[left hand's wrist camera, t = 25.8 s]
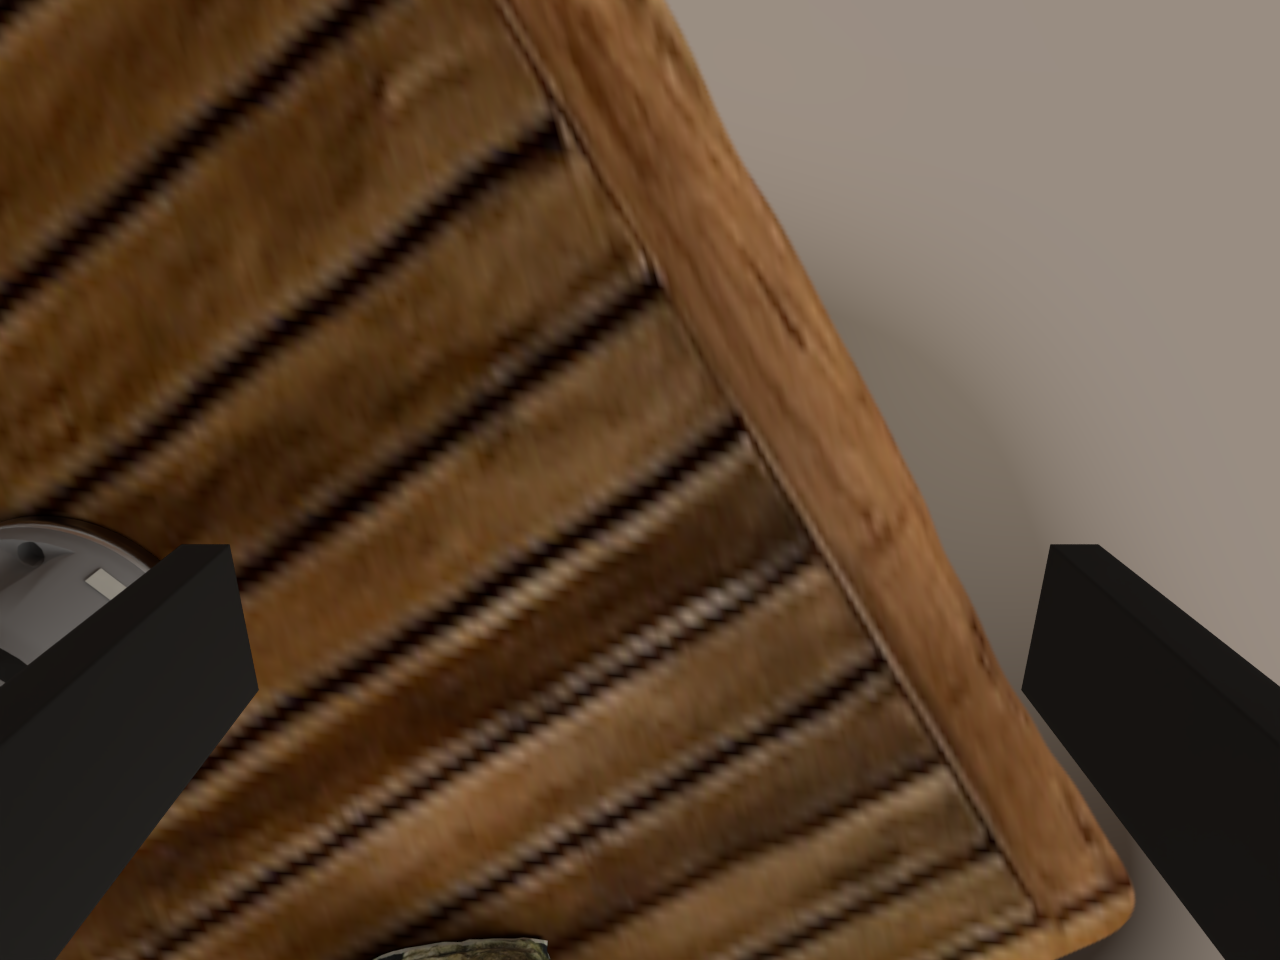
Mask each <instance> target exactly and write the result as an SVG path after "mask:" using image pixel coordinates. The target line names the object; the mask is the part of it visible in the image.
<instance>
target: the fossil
mask: <svg viewBox="0 0 1280 960" xmlns="http://www.w3.org/2000/svg"><path fill="white" fill-rule="evenodd" d="M374 960H550V957H549V955H548V952H547V941H546V940H539V939H533V938H524V937H523V938H516V939H507V938H497V939H469V940H466V941H464V942H440V943H434V944H428V945H422V946H416V947H410V948H405V949H401V950H397V951H392V952H390V953H387V954H384V955H381V956H379V957H377V958H375V959H374Z"/></svg>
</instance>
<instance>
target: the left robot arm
mask: <svg viewBox="0 0 1280 960" xmlns="http://www.w3.org/2000/svg"><path fill="white" fill-rule="evenodd" d="M258 690H259V689H258V684H257V679H256V674H255V669H254V664H253V659H252V654H251V649H250V644H249V639H248V634H247V629H246V624H245V619H244V614H243V609H242V604H241V599H240V594H239V589H238V584H237V579H236V574H235V569H234V564H233V559H232V554H231V549H230V544H182V545H180V546H179V547H178V548H176V549H175V550H174V551H173V552H171V553H170V554H169V555H168V556H166V557H165V558H164V559H162V560H161V561H160V560H158V559H157V558H156V557H155V556H154V555H152V554H151V553H149V552H148V551H147V550H145V549H144V548H142V547H141V546H139V545H138V544H136V543H134V542H133V541H131V540H129V539H127V538H125V537H123V536H122V535H120V534H118V533H115V532H113V531H111V530H108V529H106V528H103V527H100V526H97V525H94V524H91V523H88V522H84V521H80V520H76V519H70V518H64V517H55V516H29V517H20V518H15V519H10V520H6V521H3V522H0V960H55V959H56V958H57V956H58V955H59V954H60V952H61V951H62V950H63V948H64V947H65V946H66V944H67V943H68V942H69V940H70V939H71V938H72V936H73V935H74V934H75V932H76V931H77V930H78V928H79V927H80V926H81V924H82V923H83V922H84V920H85V919H86V918H87V917H88V915H89V914H90V913H91V911H92V910H93V909H94V907H95V906H96V905H97V903H98V902H99V901H100V899H101V898H102V897H103V895H104V894H105V893H106V891H107V890H108V889H109V887H110V886H111V885H112V883H113V882H114V881H115V879H116V878H117V877H118V875H119V874H120V873H121V871H122V870H123V869H124V868H125V866H126V865H127V864H128V862H129V861H130V860H131V858H132V857H133V856H134V854H135V853H136V852H137V850H138V849H139V848H140V846H141V845H142V844H143V842H144V841H145V840H146V838H147V837H148V836H149V834H150V833H151V832H152V830H153V829H154V828H155V826H156V825H157V824H158V823H159V821H160V820H161V819H162V817H163V816H164V815H165V813H166V812H167V811H168V809H169V808H170V807H171V805H172V804H173V803H174V801H175V800H176V799H177V797H178V796H179V795H180V793H181V792H182V791H183V789H184V788H185V787H186V785H187V784H188V783H189V781H190V780H191V779H192V778H193V776H194V775H195V774H196V772H197V771H198V770H199V768H200V767H201V766H202V764H203V763H204V762H205V760H206V759H207V758H208V756H209V755H210V754H211V752H212V751H213V750H214V748H215V747H216V746H217V744H218V743H219V742H220V740H221V739H222V738H223V736H224V735H225V734H226V733H227V731H228V730H229V729H230V727H231V726H232V725H233V723H234V722H235V721H236V719H237V718H238V717H239V715H240V714H241V713H242V711H243V710H244V709H245V707H246V706H247V705H248V703H249V702H250V701H251V699H252V698H253V697H254V695H255V694H256V693H257V691H258ZM1021 690H1022V691H1023V693H1024V694H1025V695H1026V697H1027V698H1028V699H1029V701H1030V702H1031V703H1032V705H1033V706H1034V707H1035V709H1036V710H1037V711H1038V713H1039V714H1040V715H1041V717H1042V718H1043V719H1044V721H1045V722H1046V723H1047V725H1048V726H1049V727H1050V729H1051V730H1052V731H1053V733H1054V734H1055V735H1056V736H1057V738H1058V739H1059V740H1060V742H1061V743H1062V744H1063V746H1064V747H1065V748H1066V750H1067V751H1068V752H1069V754H1070V755H1071V756H1072V758H1073V759H1074V760H1075V762H1076V763H1077V764H1078V765H1079V767H1080V768H1081V770H1082V771H1083V772H1084V773H1085V775H1086V776H1087V778H1088V779H1089V780H1090V781H1091V783H1092V784H1093V785H1094V787H1095V788H1096V789H1097V791H1098V792H1099V793H1100V795H1101V796H1102V797H1103V799H1104V800H1105V801H1106V803H1107V804H1108V805H1109V807H1110V808H1111V809H1112V811H1113V812H1114V813H1115V815H1116V816H1117V817H1118V819H1119V820H1120V821H1121V822H1122V824H1123V825H1124V826H1125V828H1126V829H1127V830H1128V832H1129V833H1130V834H1131V836H1132V837H1133V838H1134V840H1135V841H1136V842H1137V844H1138V845H1139V846H1140V848H1141V849H1142V850H1143V852H1144V853H1145V854H1146V856H1147V857H1148V858H1149V860H1150V861H1151V862H1152V864H1153V865H1154V866H1155V868H1156V869H1157V870H1158V871H1159V873H1160V874H1161V875H1162V877H1163V878H1164V879H1165V881H1166V882H1167V883H1168V885H1169V886H1170V887H1171V889H1172V890H1173V891H1174V893H1175V894H1176V895H1177V897H1178V898H1179V899H1180V901H1181V902H1182V903H1183V905H1184V906H1185V907H1186V909H1187V910H1188V911H1189V913H1190V914H1191V915H1192V916H1193V918H1194V919H1195V920H1196V922H1197V923H1198V924H1199V926H1200V927H1201V928H1202V930H1203V931H1204V932H1205V934H1206V935H1207V936H1208V938H1209V939H1210V940H1211V942H1212V943H1213V944H1214V946H1215V947H1216V948H1217V950H1218V951H1219V952H1220V954H1221V955H1222V956H1223V958H1224V959H1225V960H1280V686H1278V685H1277V684H1276V683H1275V682H1273V681H1272V680H1271V679H1269V678H1268V677H1267V676H1265V675H1264V674H1263V673H1262V672H1260V671H1259V670H1258V669H1257V668H1255V667H1254V666H1253V665H1252V664H1250V663H1249V662H1248V661H1246V660H1245V659H1244V658H1243V657H1241V656H1240V655H1239V654H1238V653H1236V652H1235V651H1234V650H1232V649H1231V648H1230V647H1229V646H1227V645H1226V644H1225V643H1223V642H1222V641H1221V640H1220V639H1218V638H1217V637H1216V636H1215V635H1213V634H1212V633H1211V632H1209V631H1208V630H1207V629H1206V628H1204V627H1203V626H1202V625H1200V624H1199V623H1198V622H1197V621H1195V620H1194V619H1193V618H1192V617H1190V616H1189V615H1188V614H1186V613H1185V612H1184V611H1183V610H1181V609H1180V608H1179V607H1178V606H1176V605H1175V604H1174V603H1172V602H1171V601H1170V600H1169V599H1167V598H1166V597H1165V596H1164V595H1162V594H1161V593H1160V592H1158V591H1157V590H1156V589H1155V588H1153V587H1152V586H1151V585H1149V584H1148V583H1147V582H1146V581H1144V580H1143V579H1142V578H1141V577H1139V576H1138V575H1137V574H1135V573H1134V572H1133V571H1132V570H1130V569H1129V568H1128V567H1126V566H1125V565H1124V564H1123V563H1121V562H1120V561H1119V560H1117V559H1116V558H1115V557H1114V556H1112V555H1111V554H1110V553H1109V552H1107V551H1106V550H1105V549H1104V548H1102V547H1101V546H1100V545H1098V544H1051V545H1050V549H1049V554H1048V559H1047V564H1046V569H1045V574H1044V580H1043V584H1042V589H1041V594H1040V599H1039V604H1038V609H1037V614H1036V620H1035V624H1034V629H1033V634H1032V639H1031V644H1030V649H1029V655H1028V660H1027V664H1026V669H1025V674H1024V679H1023V684H1022V689H1021Z"/></svg>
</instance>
